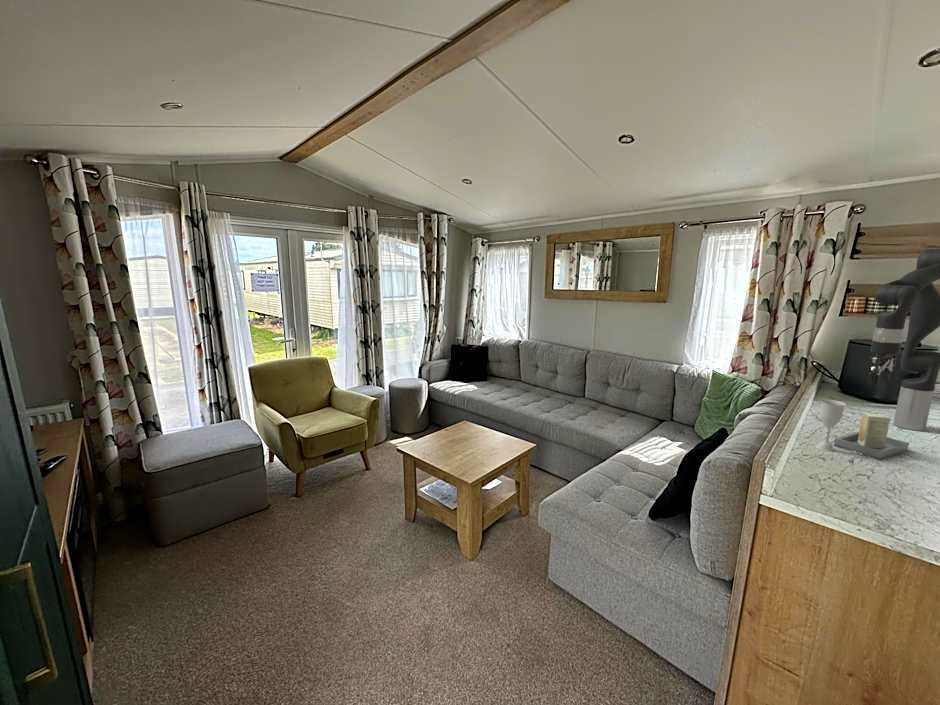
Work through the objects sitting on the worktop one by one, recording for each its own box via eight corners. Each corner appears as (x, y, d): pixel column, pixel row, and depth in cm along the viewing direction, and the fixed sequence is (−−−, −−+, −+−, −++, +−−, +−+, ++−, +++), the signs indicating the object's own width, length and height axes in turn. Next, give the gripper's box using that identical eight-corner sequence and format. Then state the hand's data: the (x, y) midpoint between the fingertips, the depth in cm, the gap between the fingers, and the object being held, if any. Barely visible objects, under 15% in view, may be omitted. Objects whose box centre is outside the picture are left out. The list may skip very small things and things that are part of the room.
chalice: (842, 453, 140) (851, 406, 136) (820, 451, 141) (829, 404, 138) (828, 445, 147) (836, 399, 144) (808, 443, 148) (815, 398, 145)
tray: (861, 437, 154) (862, 430, 153) (907, 450, 142) (909, 442, 142) (833, 445, 146) (835, 438, 146) (880, 460, 134) (881, 452, 134)
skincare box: (877, 445, 145) (883, 414, 143) (885, 449, 141) (891, 417, 139) (855, 442, 147) (861, 412, 145) (862, 447, 143) (868, 415, 141)
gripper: (882, 337, 148) (875, 378, 151) (863, 340, 142) (855, 382, 145) (910, 340, 141) (901, 382, 144) (891, 343, 136) (883, 387, 139)
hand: (878, 382), depth 145 cm, fingers open, 8 cm apart
